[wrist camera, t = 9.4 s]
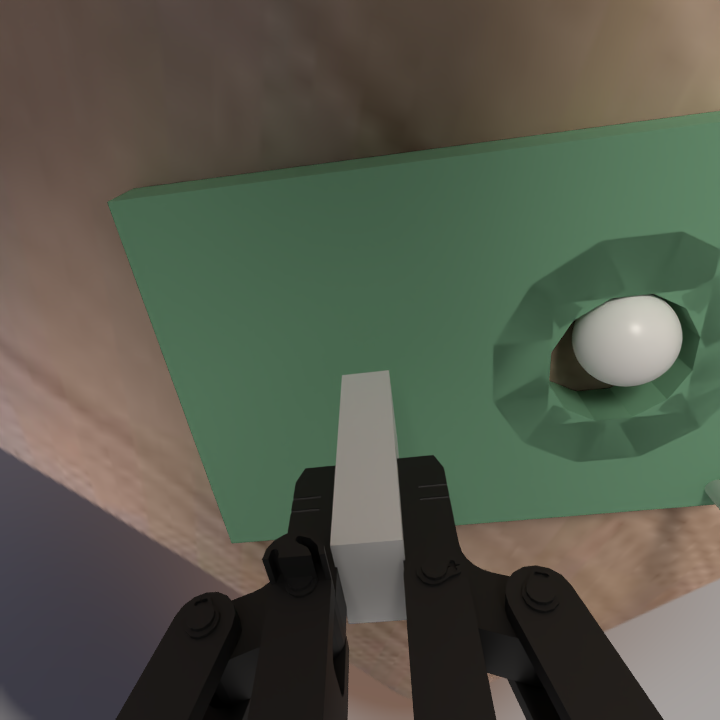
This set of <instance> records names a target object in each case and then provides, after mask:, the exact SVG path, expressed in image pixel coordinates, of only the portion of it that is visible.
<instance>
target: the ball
mask: <svg viewBox="0 0 720 720" xmlns="http://www.w3.org/2000/svg"><path fill="white" fill-rule="evenodd" d="M681 345H682V328H681V324H680V321H679V319H678V317H677V315H676V313H675V312H674V310H673V309H672V308H671V307H670V306H669V305H668V304H667V303H666V302H665V301H664V300H662V299H661V298H660V297H658V296H656V295H654V294H646V295H637V296H628V297H619V298H611V299H609V300H608V301H606V302H604V303H603V304H601V305H599V306H598V307H596V308H594V309H592V310H591V311H589V312H587V313H586V314H584V315H582V316H580V317H579V318H577V319H576V321H575V324H574V327H573V332H572V346H573V351H574V353H575V356H576V358H577V360H578V362H579V363H580V365H581V366H582V367H583V368H584V369H585V370H586V371H587V372H588V373H589V374H590V375H591V376H593V377H594V378H596V379H598V380H600V381H602V382H604V383H607V384H610V385H615V386H624V387H628V386H637V385H642V384H645V383H648V382H650V381H653V380H655V379H656V378H658V377H660V376H661V375H662V374H664V373H665V372H666V371H667V370H668V369H669V368H670V367H671V366H672V365H673V363H674V362H675V360H676V359H677V357H678V355H679V352H680V349H681Z"/></svg>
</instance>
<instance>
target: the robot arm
mask: <svg viewBox="0 0 720 720" xmlns="http://www.w3.org/2000/svg"><path fill="white" fill-rule="evenodd" d="M262 560H263V563H264V566H265V569H266V572H267V575H268V578H269V580H270V582H269V583H268V584H266V585H265V586H264V587H262V588H261V589H259V590H257V591H255V592H253V593H250V594H247V595H245V596H242V597H240V598H237V599H234V600H232V601H231V600H230V599H229V597H228V596H227V595H224V594H222V593H219V592H210V593H205V594H202V595H199V596H197V597H194V598H193V599H192V600H191V601H189V602H188V603H186V604H185V605H184V606H183V607H182V608H181V609H180V611H179V612H178V613H177V615H176V616H175V617H174V619H173V621H172V623H171V625H170V626H169V628H168V630H167V631H166V633H165V635H164V637H163V639H162V640H161V642H160V643H159V645H158V647H157V649H156V650H155V652H154V654H153V656H152V657H151V659H150V661H149V663H148V664H147V666H146V668H145V670H144V671H143V673H142V675H141V677H140V678H139V680H138V682H137V684H136V685H135V687H134V689H133V690H132V692H131V694H130V696H129V697H128V699H127V701H126V702H125V704H124V706H123V708H122V710H121V711H120V713H119V715H118V716H117V718H116V720H347V716H348V673H349V646H348V641H347V636H346V615H347V618H348V623H349V624H356V623H370V622H384V621H398V620H407V630H408V644H409V657H410V671H411V685H412V698H413V712H414V720H496V716H495V711H494V706H493V701H492V696H491V690H490V685H489V680H488V675H487V673H490V674H493V675H497V676H500V677H504V678H507V679H508V681H509V684H510V685H511V687H512V690H513V692H514V694H515V696H516V698H517V701H518V702H519V705H520V707H521V709H522V711H523V713H524V715H525V717H526V720H663V718H662V717H661V715H660V714H659V712H658V711H657V709H656V708H655V706H654V705H653V704H652V702H651V701H650V699H649V698H648V696H647V695H646V693H645V692H644V690H643V689H642V688H641V686H640V685H639V683H638V682H637V680H636V679H635V677H634V676H633V674H632V673H631V671H630V670H629V668H628V667H627V666H626V664H625V663H624V661H623V660H622V658H621V657H620V655H619V654H618V652H617V651H616V650H615V648H614V647H613V645H612V644H611V642H610V641H609V639H608V638H607V636H606V635H605V634H604V632H603V631H602V629H601V628H600V626H599V625H598V623H597V622H596V620H595V619H594V617H593V616H592V615H591V613H590V612H589V610H588V609H587V607H586V606H585V604H584V603H583V601H582V600H581V599H580V597H579V596H578V594H577V593H576V591H575V590H574V588H573V587H572V585H571V584H570V583H569V582H568V581H567V580H566V579H565V578H564V577H563V576H562V575H560V574H559V573H557V572H555V571H553V570H551V569H550V568H545V567H540V566H528V567H522V568H521V569H519V570H517V571H515V572H513V573H512V575H511V576H505V575H501V574H496V573H492V572H489V571H486V570H482V569H480V568H479V567H477V566H475V565H473V564H472V563H471V562H470V561H469V560H468V559H467V558H466V557H465V555H464V554H463V553H462V551H461V548H460V545H459V542H458V537H457V532H456V527H455V521H454V516H453V511H452V506H451V501H450V497H449V491H448V486H447V481H446V476H445V471H444V467H443V466H442V465H441V463H440V462H439V461H438V460H437V459H436V457H435V456H434V455H428V456H417V457H407V458H399V454H398V443H397V433H396V425H395V416H394V408H393V400H392V391H391V383H390V375H389V370H386V371H376V372H367V373H358V374H348V375H342V383H341V397H340V411H339V425H338V440H337V454H336V465H335V466H324V467H314V468H305V470H304V471H303V472H302V474H301V475H300V477H299V478H298V480H297V481H296V484H295V490H294V496H293V502H292V508H291V515H290V521H289V527H288V533H287V534H284V535H283V536H281V537H279V538H278V539H276V540H274V541H273V543H272V544H271V545H270V546H269V547H268V548H267V549H266V551H265V554H264V556H263V559H262Z"/></svg>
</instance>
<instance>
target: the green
mask: <svg viewBox="0 0 720 720" xmlns="http://www.w3.org/2000/svg"><path fill="white" fill-rule="evenodd" d="M107 203H108V206H109V208H110V211H111V214H112V217H113V219H114V222H115V225H116V227H117V230H118V233H119V236H120V238H121V241H122V244H123V247H124V249H125V252H126V255H127V258H128V260H129V263H130V266H131V269H132V271H133V274H134V277H135V280H136V282H137V285H138V288H139V290H140V293H141V296H142V299H143V301H144V304H145V307H146V310H147V312H148V315H149V318H150V321H151V323H152V326H153V329H154V332H155V334H156V337H157V340H158V343H159V345H160V348H161V351H162V353H163V356H164V359H165V362H166V364H167V367H168V370H169V373H170V375H171V378H172V381H173V384H174V386H175V389H176V392H177V395H178V397H179V400H180V403H181V406H182V408H183V411H184V414H185V416H186V419H187V422H188V425H189V427H190V430H191V433H192V436H193V438H194V441H195V444H196V447H197V449H198V452H199V455H200V458H201V460H202V463H203V466H204V469H205V471H206V474H207V477H208V479H209V482H210V485H211V488H212V490H213V493H214V496H215V499H216V501H217V504H218V507H219V510H220V512H221V515H222V518H223V521H224V523H225V526H226V529H227V532H228V534H229V537H230V540H231V542H232V543H242V542H255V541H267V540H276V539H278V538H279V537H281V536H283V535H284V534H287V533H288V527H289V521H290V515H291V508H292V502H293V496H294V490H295V484H296V481H297V480H298V478H299V477H300V475H301V474H302V472H303V471H304V470H305V468H314V467H324V466H335V465H336V454H337V440H338V425H339V411H340V397H341V383H342V375H348V374H358V373H367V372H376V371H386V370H389V375H390V383H391V391H392V400H393V408H394V416H395V425H396V433H397V443H398V454H399V458H407V457H417V456H428V455H434V456H435V457H436V459H437V460H438V461H439V462H440V463H441V465H442V466H443V467H444V471H445V476H446V481H447V486H448V491H449V497H450V501H451V506H452V511H453V516H454V521H455V525H466V524H478V523H490V522H503V521H515V520H528V519H540V518H552V517H565V516H577V515H590V514H602V513H614V512H627V511H639V510H652V509H664V508H676V507H689V506H701V505H713V504H715V505H716V506H717V507H718V508H719V509H720V111H716V112H708V113H701V114H693V115H686V116H678V117H670V118H663V119H655V120H648V121H640V122H633V123H625V124H618V125H610V126H602V127H595V128H587V129H580V130H572V131H565V132H557V133H550V134H542V135H534V136H527V137H519V138H512V139H504V140H497V141H489V142H482V143H474V144H467V145H459V146H451V147H444V148H436V149H429V150H421V151H414V152H406V153H399V154H391V155H383V156H376V157H368V158H361V159H353V160H346V161H338V162H331V163H323V164H315V165H308V166H300V167H293V168H285V169H278V170H270V171H263V172H255V173H248V174H240V175H232V176H225V177H217V178H210V179H202V180H195V181H187V182H180V183H172V184H164V185H157V186H149V187H142V188H134V189H132V190H130V191H128V192H126V193H124V194H122V195H120V196H118V197H116V198H114V199H112V200H110V201H108V202H107ZM646 294H656V295H658V296H660V297H662V298H663V300H664V301H665V302H666V303H667V304H668V305H669V306H670V307H671V308H672V309H673V310H674V312H675V313H676V315H677V317H678V319H679V321H680V324H681V328H682V345H681V349H680V352H679V355H678V357H677V359H676V360H675V362H674V363H673V365H672V366H671V367H670V368H669V369H668V370H667V371H666V372H665V373H664V374H662V375H661V376H660V377H658V378H656V379H655V380H653V381H650V382H648V383H645V384H642V385H637V386H628V387H624V386H613V387H611V388H606V389H596V390H586V391H574V390H571V389H569V388H566V387H564V386H561V385H559V384H556V383H553V382H551V381H549V376H550V362H551V352H552V351H553V349H554V348H555V346H556V345H557V344H558V342H559V341H560V339H561V338H562V336H563V335H564V334H565V332H566V331H567V329H568V328H569V326H570V325H571V324H572V322H573V321H574V320H575V319H577V318H579V317H580V316H582V315H584V314H586V313H587V312H589V311H591V310H592V309H594V308H596V307H598V306H599V305H601V304H603V303H604V302H606V301H608V300H609V299H611V298H619V297H628V296H637V295H646Z"/></svg>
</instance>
